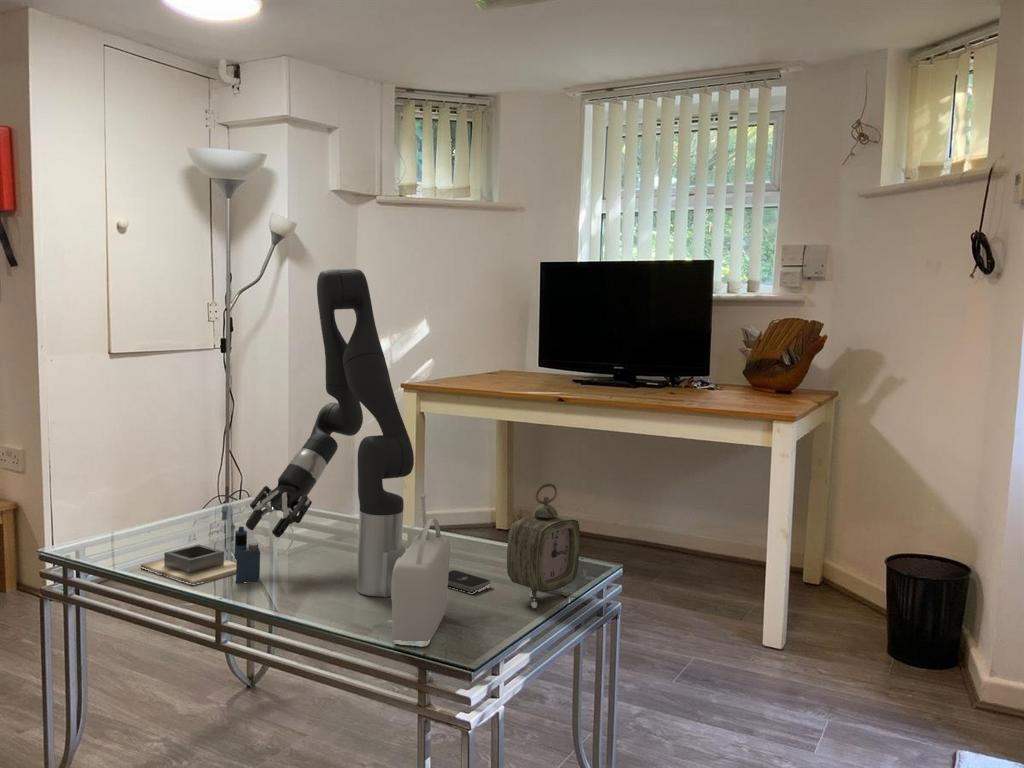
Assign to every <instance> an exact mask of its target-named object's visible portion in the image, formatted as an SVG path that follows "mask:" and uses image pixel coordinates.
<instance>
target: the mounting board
mask: <svg viewBox="0 0 1024 768" xmlns="http://www.w3.org/2000/svg"><path fill="white" fill-rule="evenodd" d="M141 567H144V568H146V569H149V570H151V571H154V572H157V573H159V574H162V575H165V576H168V577H172V578H174V579H178V580H181V581H184V582H188V583H191V584H197V583H201V582H205V583H208V582H207V581H209V582H212V581H215V579H216V580H218V579H219V580H220V579H223V578H225V577H226V578H227V577H229V576H232V575H236V562H234V561H232V560H227V559H225V558H224V565H221V566H217V567H214V568H210V569H206V570H203V571H199V572H195V573H192V574H188V573H185V572H182V571H178V570H175V569H172V568H169V567H166V566H164V558H162V559H159V560H157V559H156V560H153V561H150V562H145V563H142V564H140V568H141ZM211 580H212V581H211Z"/></svg>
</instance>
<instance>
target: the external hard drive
mask: <svg viewBox="0 0 1024 768" xmlns="http://www.w3.org/2000/svg"><path fill="white" fill-rule="evenodd" d="M490 583H492V582H491V579H487V578H484V577H481V576H477V575H473V574H471V573H467V572H464V571H460V570H456V569H452V570H449V573H448V587H451V588H455V589H458V590H462V591H465V592H470V593H473V592H475V591H476V590H479V589H481V588H483V587H485V586H486V585H488V584H490ZM451 588H450V589H451Z"/></svg>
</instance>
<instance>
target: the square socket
mask: <svg viewBox="0 0 1024 768" xmlns="http://www.w3.org/2000/svg"><path fill="white" fill-rule="evenodd" d="M163 559H164V566H166V567H169V568H172V569H175V570H178V571H182V572H185V573H188V574H192V573H195V572H199V571H203V570H206V569H210V568H214V567H217V566H221V565H224V559H225V551H223V550H220V549H216V548H212V547H209V546H206V545H202V544H199V543H198V544H195V545H191V546H187V547H183V548H178V549H174V550H168V551H165V552H164V557H163Z"/></svg>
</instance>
